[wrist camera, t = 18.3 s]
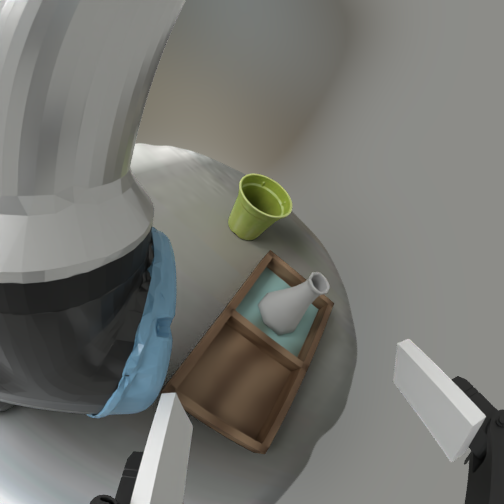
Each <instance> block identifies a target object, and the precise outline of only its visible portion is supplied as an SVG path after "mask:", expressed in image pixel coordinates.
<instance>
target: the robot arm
mask: <svg viewBox="0 0 504 504" xmlns="http://www.w3.org/2000/svg"><path fill="white" fill-rule="evenodd" d="M185 1H186V0H0V411H4V410H7V409H9V408H11V407H13V406H14V405H20V406H25V407H30V408H36V409H43V410H50V411H57V412H66V413H77V414H86V415H87V416H89V417H92V418H101V417H105V416H108V415H114V414H134V413H138V412H141V411H143V410H145V409H147V408H148V407H149V406H150V405H151V404H152V403H153V402H154V401H155V399H156V398H157V396H158V395H159V393H160V391H161V388H162V386H163V383H164V380H165V377H166V374H167V370H168V366H169V361H170V356H171V350H172V334H171V330H170V325H171V322H172V319H173V318H174V316H175V308H176V266H175V258H174V253H173V249H172V245H171V243H170V240H169V239H168V237H167V236H166V235H165V234H164V233H163V232H161V231H158V230H156V229H155V228H154V227H152V224H153V218H154V206H153V203H152V201H151V198H150V196H149V195H148V194H147V192H146V191H145V190H144V188H143V187H142V186H141V184H140V183H139V181H138V180H137V179H136V177H135V176H134V174H133V173H132V171H131V168H130V164H131V159H132V155H133V150H134V146H135V141H136V137H137V133H138V129H139V125H140V121H141V118H142V114H143V110H144V107H145V103H146V100H147V97H148V93H149V90H150V87H151V84H152V81H153V78H154V75H155V72H156V69H157V66H158V64H159V61H160V58H161V56H162V53H163V50H164V48H165V45H166V43H167V40H168V38H169V36H170V33H171V31H172V29H173V26H174V24H175V22H176V20H177V17H178V15H179V13H180V11H181V9H182V7H183V5H184V2H185ZM393 383H394V384H395V385H396V387H397V388H398V389H399V391H401V393H402V395H403V396H404V397H405V399H406V400H407V401H408V403H409V404H410V405H411V407H412V408H413V409H414V411H415V412H416V414H417V415H418V416H419V418H420V419H421V421H422V422H423V423H424V425H425V426H426V427H427V429H428V430H429V432H430V433H431V434H432V436H433V437H434V439H435V440H436V441H437V443H438V444H439V446H440V447H441V449H442V450H443V452H444V453H445V455H446V456H447V457H448V459H449V460H450V462H453V461H454V460H456V459H458V458H459V457H460V456H462V455H463V454H464V453H465V452H466V450H467V449H468V447H469V448H470V449H471V453H470V454H469V456H468V457H467V458H466V460H465V463H464V464H466V463H467V462H468V461H469V473H468V483H467V491H466V499H465V504H504V410H499V411H498V410H497V409H496V408H494V407H493V406H492V405H491V404H490V403H489V401H487V399H485V397H484V396H483V395H482V394H481V393H478V391H477V390H476V389H475V388H473V386H472V385H471V384H470V383H469V382H468V381H467V380H466V379H463V378H461V377H459V376H457V377H455V378H454V379H452V380H451V379H450V378H449V377H448V376H447V375H446V374H445V373H444V372H443V371H442V370H441V369H440V368H439V367H438V366H437V365H436V364H435V363H434V362H433V361H432V360H431V359H430V358H429V357H428V356H427V355H426V354H425V353H424V352H423V351H422V350H420V349H419V348H418V347H417V346H416V345H415V344H414V343H413V342H412V341H411V340H410V339H407V340H404V341H402V342H399V343H397V351H396V361H395V370H394V377H393ZM192 431H193V426H192V424H191V422H190V420H189V418H188V416H187V414H186V412H185V410H184V408H183V406H182V404H181V402H180V400H179V398H178V396H177V394H176V392H175V393H162V394H161V397H160V401H159V404H158V407H157V410H156V413H155V417H154V420H153V423H152V426H151V430H150V433H149V436H148V440H147V443H146V447H145V450H144V452H133V453H132V454H131V455H130V457H129V458H128V459H127V462H126V465H125V470H124V471H123V474H122V476H123V477H121V481H120V484H119V487H118V490H117V494H116V497H115V499H114V498H112V497H111V496H108V495H99V496H97V497H95V498H94V499H93V500H92V501H91V502H90V504H183V500H184V491H185V483H186V475H187V467H188V460H189V452H190V445H191V438H192Z"/></svg>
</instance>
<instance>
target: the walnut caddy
mask: <svg viewBox="0 0 504 504" xmlns="http://www.w3.org/2000/svg"><path fill="white" fill-rule="evenodd" d="M305 281H306V279H305V278H303V277H302V276H301V275H300V274H299V273H297V272H296V271H295V270H294V269H293V268H291V267H290V266H289V265H288V264H287V263H285V262H284V261H283V260H282V259H281V258H279V257H278V256H277V255H276V254H274V253H273V252H272V251H271V250H270V251H269V252H268V253H267V254H266V255H265V257H264V258H263V259H262V260H261V261H260V263H259V264H258V265H257V267H256V268H255V269H254V271H253V272H252V273H251V274H250V276H249V277H248V278H247V280H246V281H245V282H244V284H243V285H242V286H241V288H240V289H239V290H238V292H237V293H236V294H235V296H234V297H233V298H232V300H231V301H230V302H229V303H228V305H227V306H226V307H225V309H224V310H223V311H222V313H221V314H220V315H219V317H218V318H217V319H216V321H215V322H214V323H213V324H212V326H211V327H210V328H209V330H208V331H207V332H206V334H205V335H204V336H203V337H202V339H201V340H200V341H199V343H198V344H197V345H196V346H195V348H194V349H193V350H192V352H191V353H190V354H189V356H188V357H187V358H186V359H185V361H184V362H183V363H182V365H181V366H180V367H179V368H178V370H177V371H176V372H175V374H174V375H173V376H172V377H171V379H170V380H169V381H168V382H167V384H166V385H165V386H164V388H163V389H162V390H161V391H160V392H161V393H175V392H176V394H177V396H178V398H179V400H180V402H181V404H182V406H183V408H184V410H185V411H186V412H188V413H189V414H191V415H192V416H194V417H195V418H197V419H198V420H200V421H201V422H203V423H204V424H206V425H207V426H209V427H210V428H212V429H214V430H215V431H217V432H218V433H220V434H222V435H223V436H225V437H227V438H228V439H230V440H232V441H234V442H235V443H237V444H239V445H241V446H243V447H244V448H246V449H248V450H250V451H252V452H254V453H261V454H265V453H266V452H267V450H268V448H269V446H270V444H271V442H272V441H273V439H274V437H275V435H276V433H277V431H278V429H279V428H280V426H281V424H282V422H283V420H284V418H285V416H286V414H287V412H288V410H289V408H290V406H291V404H292V402H293V400H294V398H295V395H296V393H297V391H298V389H299V387H300V385H301V383H302V380H303V378H304V376H305V374H306V372H307V369H308V367H309V365H310V362H311V360H312V358H313V355H314V353H315V351H316V348H317V346H318V343H319V341H320V339H321V336H322V334H323V331H324V328H325V326H326V323H327V321H328V318H329V315H330V313H331V310H332V307H333V305H334V303H333V302H332V301H331V300H330V299H328V298H327V297H326V296H325V295H324V294H323V295H320V296H318V297H317V298H316V299H315V300H314V301H313V302H312V303H311V305H310V306H309V307H308V309H307V310H306V312H305V314H304V315H303V317H302V319H301V320H300V322H299V324H298V325H297V327H296V329H295V330H294V332H292V333H287V334H283V335H277V334H276V333H275V332H274V331H272V330H271V329H270V328H269V327H268V326H267V325H266V324H264V322H263V319H262V316H261V313H260V310H259V307H258V304H259V302H260V301H261V300H262V299H263V297H264V296H265V295H266V293H269V292H273V291H278V290H283V289H287V288H291V287H294V286H297V285H299V284H301V283H303V282H305Z"/></svg>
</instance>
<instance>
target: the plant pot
mask: <svg viewBox="0 0 504 504" xmlns="http://www.w3.org/2000/svg"><path fill="white" fill-rule="evenodd" d="M291 211H292V201H291V199H290V197H289V195H288V193H287V192H286V191H285V190H284V188H283V187H282V186H280V185H279V184H278V183H277V182H275V181H274V180H272V179H270V178H269V177H266V176H263V175H260V174H248V175H245V176H244V177H243V178H242V179H241V180H240V183H239V195H238V197H237V200H236V202H235V204H234V207H233V209H232V212H231V214H230V217H229V220H228V224H229V227H230V229H231V231H232V232H234V233H235V234H236V235H237V236H238V237H239V238H241V239H244V240H254V239H255V238H257V237H258V236H259V235H260V234H262V233H263V232H264V231H265V230H266V229H267V228H268V227H270V226H271V225H272V224H273V223H274V222H275V221H277V220H280V219H281V218H284V217H286V216H288V215H289V214H290V213H291Z"/></svg>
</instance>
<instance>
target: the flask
mask: <svg viewBox="0 0 504 504" xmlns="http://www.w3.org/2000/svg"><path fill="white" fill-rule="evenodd" d="M329 288H330V285H329V283H328V281H327V278H326V277H325V276H323V275H322V274H321V273H320V272H313V273H312V274H311V275H310V277H309V278H308V280H306V281H305V282H303V283H301V284H299V285H297V286H294V287H291V288H287V289H283V290H278V291H273V292H269V293H266V295H265V296H264V297H263V299H262V300H261V301H260V302H259V304H258V307H259V310H260V313H261V316H262V319H263V322H264V324H266V325H267V326H268V327H269V328H270V329H271V330H272V331H274V332H275V333H276V334H277V335H283V334H287V333H292V332H294V330H295V329H296V327H297V325H298V324H299V322H300V320H301V319H302V317H303V315H304V314H305V312H306V310H307V309H308V307H309V306H310V305H311V303H312V302H313V301H314V300H315V299H316V298H317V297H318V296H320V295H323V294H327V292H328V290H329Z"/></svg>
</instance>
